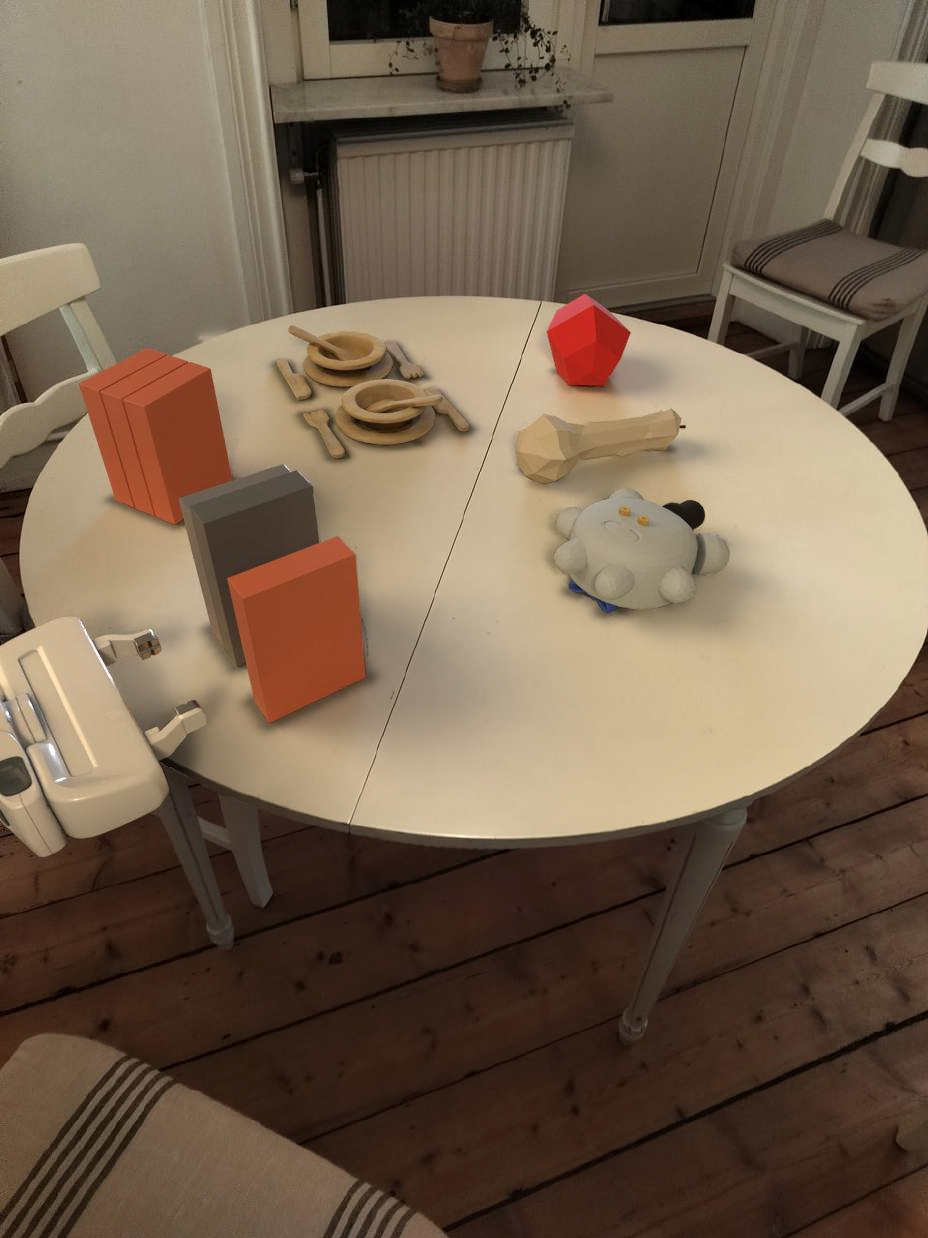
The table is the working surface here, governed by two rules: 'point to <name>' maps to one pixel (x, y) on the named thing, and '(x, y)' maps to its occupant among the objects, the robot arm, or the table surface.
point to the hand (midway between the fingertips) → (179, 674)
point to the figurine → (637, 551)
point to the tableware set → (367, 390)
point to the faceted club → (588, 441)
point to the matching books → (157, 431)
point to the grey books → (245, 536)
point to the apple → (586, 342)
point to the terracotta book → (300, 626)
